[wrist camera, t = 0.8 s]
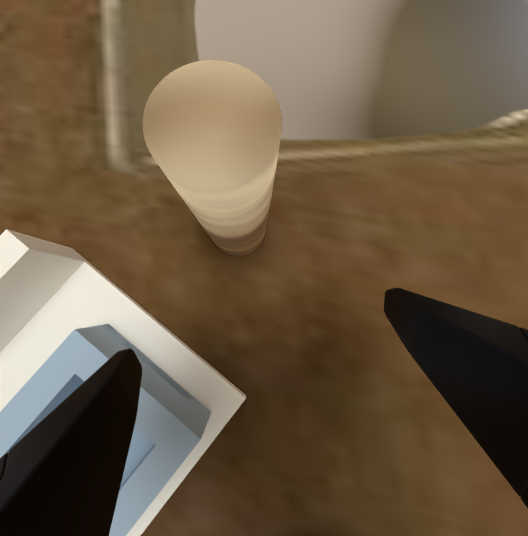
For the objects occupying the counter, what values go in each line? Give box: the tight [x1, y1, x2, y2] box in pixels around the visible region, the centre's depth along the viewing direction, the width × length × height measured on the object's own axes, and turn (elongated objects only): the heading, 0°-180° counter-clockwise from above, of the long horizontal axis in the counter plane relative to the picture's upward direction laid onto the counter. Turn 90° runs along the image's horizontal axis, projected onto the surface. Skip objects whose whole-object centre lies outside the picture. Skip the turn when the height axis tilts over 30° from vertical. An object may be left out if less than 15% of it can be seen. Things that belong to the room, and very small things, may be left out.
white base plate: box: [0, 229, 246, 536], centre depth 18 cm, size 20×16×6 cm
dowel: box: [143, 60, 282, 256], centre depth 16 cm, size 5×5×14 cm
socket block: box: [0, 324, 211, 536], centre depth 18 cm, size 11×11×4 cm
